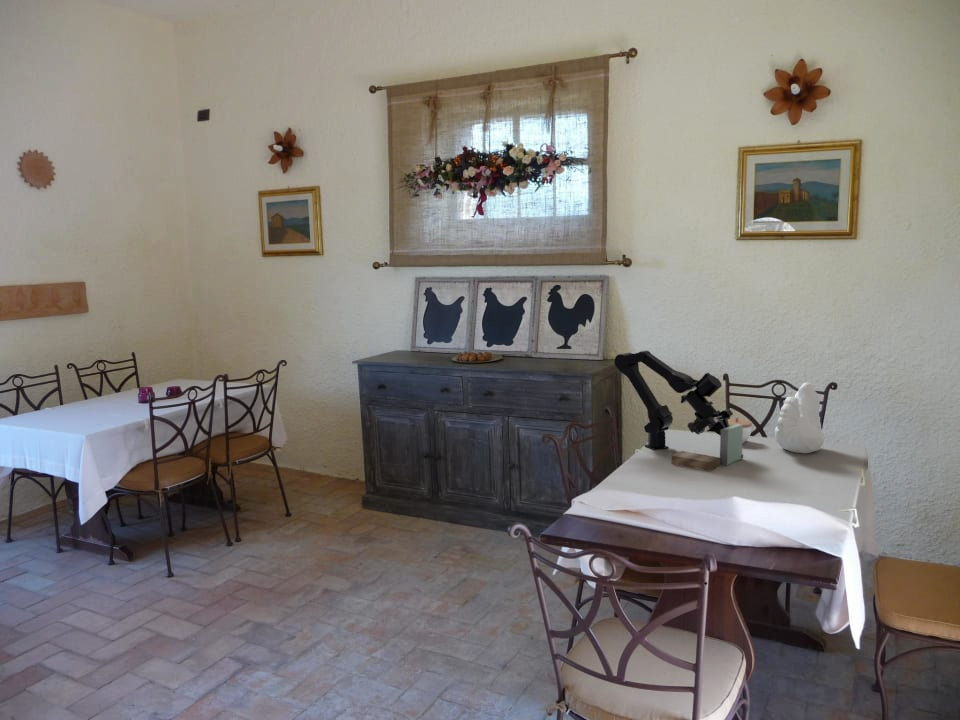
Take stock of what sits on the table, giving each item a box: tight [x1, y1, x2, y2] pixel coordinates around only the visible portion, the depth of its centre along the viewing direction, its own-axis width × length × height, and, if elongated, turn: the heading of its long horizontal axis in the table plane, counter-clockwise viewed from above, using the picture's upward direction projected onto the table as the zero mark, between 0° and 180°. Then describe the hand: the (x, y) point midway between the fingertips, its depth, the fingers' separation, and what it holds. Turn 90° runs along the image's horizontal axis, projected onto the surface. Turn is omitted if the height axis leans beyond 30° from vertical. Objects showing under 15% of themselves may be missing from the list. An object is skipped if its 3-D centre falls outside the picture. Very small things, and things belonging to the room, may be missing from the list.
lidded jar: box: [728, 417, 753, 444], centre depth 272 cm, size 11×11×9 cm
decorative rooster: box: [774, 381, 825, 454], centre depth 255 cm, size 25×16×25 cm, turn 120°
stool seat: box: [670, 450, 721, 472], centre depth 242 cm, size 14×8×3 cm, turn 46°
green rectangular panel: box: [719, 424, 744, 466], centre depth 244 cm, size 13×2×12 cm, turn 134°
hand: (730, 440), depth 246 cm, fingers closed, pressing on green rectangular panel
